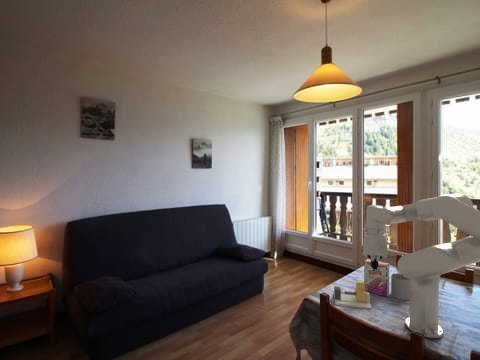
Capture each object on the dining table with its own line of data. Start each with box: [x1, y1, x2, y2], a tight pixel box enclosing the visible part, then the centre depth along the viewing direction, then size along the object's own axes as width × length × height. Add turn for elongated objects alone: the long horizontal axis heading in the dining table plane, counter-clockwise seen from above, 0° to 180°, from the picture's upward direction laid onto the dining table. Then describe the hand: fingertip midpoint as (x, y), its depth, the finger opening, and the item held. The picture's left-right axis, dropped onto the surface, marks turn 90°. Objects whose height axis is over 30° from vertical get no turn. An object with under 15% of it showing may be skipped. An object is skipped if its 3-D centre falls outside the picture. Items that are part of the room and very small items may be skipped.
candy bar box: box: [363, 258, 390, 298], centre depth 134 cm, size 11×5×16 cm, turn 47°
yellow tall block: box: [354, 280, 367, 301], centre depth 124 cm, size 4×4×8 cm
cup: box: [390, 273, 410, 301], centre depth 130 cm, size 8×8×10 cm
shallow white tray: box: [333, 285, 373, 310], centre depth 126 cm, size 11×16×6 cm
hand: (374, 268), depth 123 cm, fingers closed
